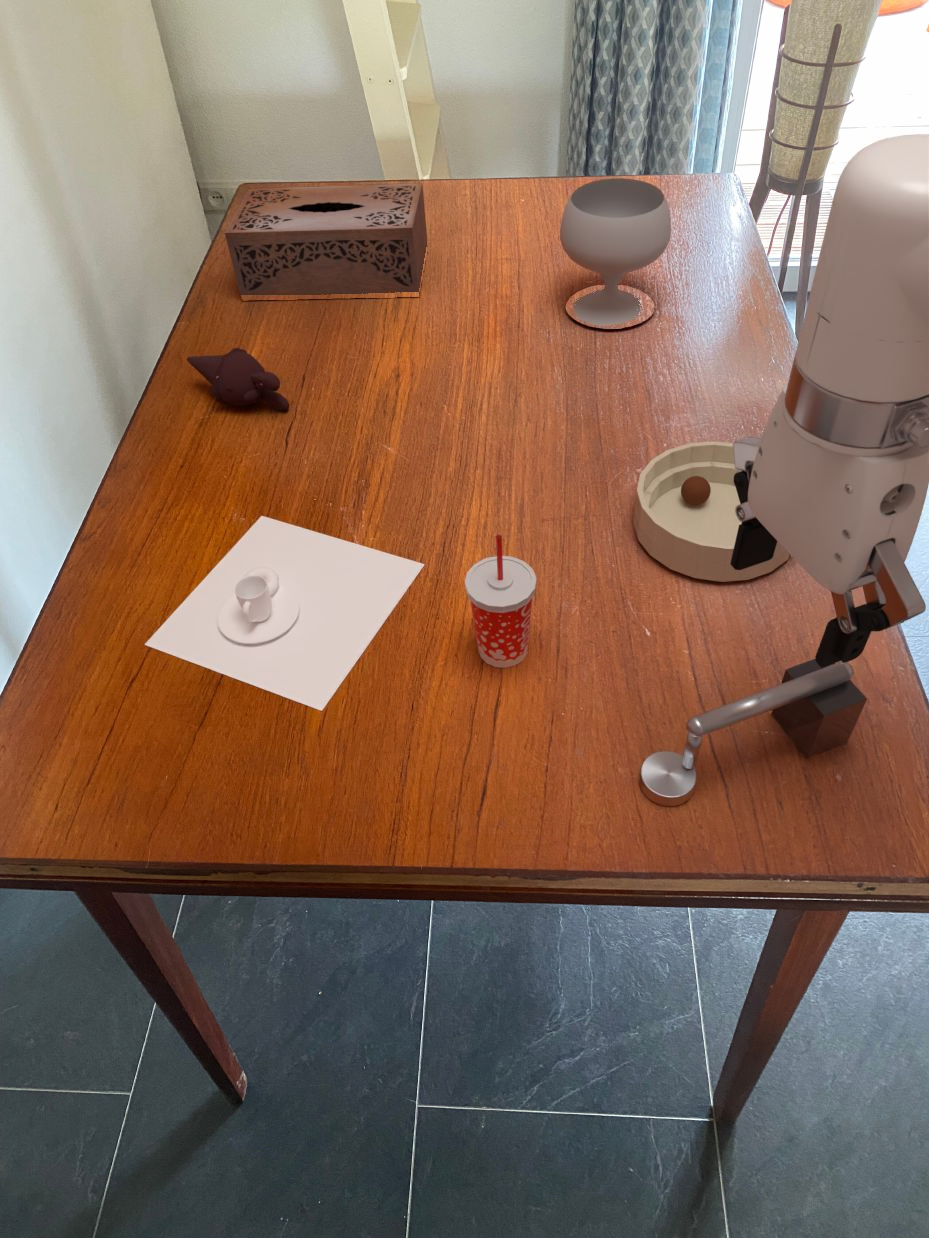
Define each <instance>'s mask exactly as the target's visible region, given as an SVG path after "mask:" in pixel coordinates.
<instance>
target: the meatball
mask: <svg viewBox="0 0 929 1238" xmlns="http://www.w3.org/2000/svg"><path fill="white" fill-rule="evenodd" d="M710 493H711V488H710V484H709V483H708V481H707V480H706V479H704V478H703V477H700V476H693V477H690V478H688V479H687V480H685V482H684V483H683V485H682V487H681V495H682V498H683V499H684V501H685V502H687V503H688V504H691V505H700V504H702V503H704V502H705V501H706V500H707V499H708V498H709V496H710Z"/></svg>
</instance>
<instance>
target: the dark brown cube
mask: <svg viewBox="0 0 929 1238" xmlns="http://www.w3.org/2000/svg"><path fill="white" fill-rule="evenodd" d="M815 660H816V658H813V659H810V660H808V661H805V662H801V663H799V664H797V665H794V666H792V667H788V668H786V669H785V671H784V673H783V676H782V679H781V683H780V684H782V683H785V682H788V681H790V680H793V679H796V678H798V677H801V676H804V675H806V674H809V673H812V672H815V671H817V670H820V669H823V668H825V667H823V668H821V667H820V666H819V665H818V664H817V663H816V661H815ZM836 663H837V662H836ZM836 663H834V664H836ZM831 665H833V664H831ZM831 665H828V666H831ZM828 666H826V667H828ZM867 700H868V698H867V697H866V696H865V694H863V692H862V691H861V690H860V689H859V688H858V687H857V685H856V684H855V683H854V682H853V680H851V679H850V680H849V681H847V682H844V683H842V684H839V685H837V686H834V687H831V688H829V689H826V690H823V691H821V692H818V693H815V694H813V695H810V696H807V697H805V698H802V699H799V700H797V701H794V702H792V703H789V704H786V705H784V706H781V707H778V708H776V709H773V710H771V713H770V714H771V716H772V717H773V718H774V720H775V721H776V722H777V723H778V724H779V726H780V727H781V728H782V729H783V730H784V732H785V733H786V735H787V736H788V737H789V739H790V740H791V741H792V743H794V745H795V746H796V747H797V749H798V751H800V753H801V754H802V755H803V756H804V757H805V759H809V758H813V757H815V756H818V755H820V754H822V753H826V752H827V751H830V750H832V749H835V748H838V747H840V746H843V745H845V744H847V743H849V741H850V738H851V736H852V734H853V731H854V729H855V727H856V725H857V723H858V720H859V718H860V716H861V714H862V711H863V709H864V707H865V705H866V703H867Z"/></svg>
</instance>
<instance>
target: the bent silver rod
mask: <svg viewBox="0 0 929 1238" xmlns="http://www.w3.org/2000/svg"><path fill="white" fill-rule="evenodd" d="M853 677H854V669H853V666H852V665H851V664H850V663H848V662H845V663H843V662H842V661H839V662H836V664H833V665H831V666H828V667H825V668H823V669H820V670H817V671H815V672H812V673H809V674H806V675H804V676H801V677H798V678H796V679H793V680H790V681H788V682H785V683H782V684H781V683H779V684H776V685H775V686H771V687H769V688H766V689H764V690H761V691H758V692H756V693H753V694H750V695H747V696H744V697H742V698H740V699H737V700H734V701H731V702H729V703H726V704H723V705H721V706H718V707H715V708H712V709H709V710H707V711H705V712H702V713H699V714H696V715H693V716H692V717H690V718H689V719H688V720H687V722H686V730H687V732H688V733H687V737H686V742H685V747H684V751H683V754H680V753H678V752H676V751H671V750H660V751H656V752H653V753H651V754H650V755H648V756H647V757H646V758H645V759H644V761H642V764H641V765H640V770H639V771H640V772H639V778H638V783H639V786H640V789H641V791H642V793H643V795H644V796H645V797H646V798H647V799H649V800H650V801H651V802H652V803H654V804H657V805H659V806H663V807H677V806H680V805H683V804H684V803H686V802H687V801H689V800H690V798H691V797H693V794H694V793H695V788H696V785H697V784H696V783H697V780H698V779H697V778H698V777H697V772H696V771H697V770H696V768H695V767H697V766H696V765H697V762H698V759H699V754H700V751H701V746H702V743H703V742H702V741H703V737H704V736H706V735H710V734H712V733H715V732H717V731H720V730H722V729H725V728H728V727H730V726H733V725H736V724H739V723H741V722H743V721H746V720H749V719H752V718H755V717H757V716H760V715H762V714H765V713H768V712H770V711H772V710H773V709H776V708H778V707H781V706H784V705H786V704H789V703H792V702H794V701H797V700H799V699H802V698H805V697H807V696H810V695H813V694H815V693H818V692H821V691H823V690H826V689H829V688H831V687H834V686H837V685H839V684H842V683H844V682H847V681H849V680H851V679H852V678H853Z"/></svg>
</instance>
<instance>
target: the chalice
mask: <svg viewBox="0 0 929 1238" xmlns="http://www.w3.org/2000/svg"><path fill="white" fill-rule="evenodd" d="M562 213H563V214H562V218H561V222H560V228H559V239H560V243H561V246H562V249H563V251H564V253H565V254H566V256H568V258H569V259H570V260H571V261H573V262H574V263H575V264H576V265H578V266H580V267H582V268H584V269H586V270H589V271H590V272H591V271H592V272H594V273H597V274H599V276H601V277H602V280H603V282H604V283H603V284H605V287H604V289H602V290H597V291H595V292H594V291H593V292H594V293H593V292H592V293H589V294H587V295H585V296H583V297H580V299H579V298H578V299H579V300H577V299H576V300H577V301H576V302H575V301H574V302H575V303H573V304H574V306H573V308H574V310H575V311H574V310H573V312H575V313H574V314H577V315H575V316H577V317H579V318H578V320H582V321H585V322H587V323H590V324H594V325H596V326H597V325H598V326H599V327H600V326H604V327H605V326H607V325H608V326H611V325H613V324H616V325H618V324H621V323H623V322H625V323H627V322H626V321H628V322H630V321H629V320H632V319H636V317H637V316H640V315H641V314H640V315H638V314H639V312H640V311H641V310H640V307H642V306H640V305H641V304H640V302H639V301H638V300H639V299H640V298H639V299H638V298H635V297H636V296H635V297H634V295H632V294H631V293H628V292H625V291H621V290H619V289H618V284H620V281H621V279H622V278H623V277H624V276H625V275H626V274H629V273H633V272H635V271H639V270H642V269H644V268H646V267H648V266H649V265H651V264H653V263H654V262H655V261H657V260H658V259H659V258H660V257H661V256H662V255H663V254H664V252H665V251H666V250H667V247H668V245H669V243H670V241H671V234H672V223H671V221H672V220H671V211H670V207H669V203H668V201H667V198H666V196H665V194H664V192H663V191H662V190H661V189H660V188H659V187H657V186H656V185H654V184H652V183H649V182H647V181H644V180H639V179H634V178H624V177H623V178H621V177H619V178H617V177H615V178H613V177H612V178H603V179H597V180H593V181H590V182H588V183H585V184H582V185H580V186H579V187H577V188H576V189H574V190H573V192H572V194H571V195H570V196H569V198H568V200H567V202H566V205H565V207H564V209H563V212H562ZM575 304H576V305H575ZM639 304H640V305H639ZM637 309H638V310H637ZM640 313H641V312H640ZM634 316H636V317H634ZM576 319H577V318H576ZM582 321H581V322H582ZM583 323H584V322H583ZM623 324H624V323H623ZM613 326H615V325H613Z"/></svg>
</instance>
